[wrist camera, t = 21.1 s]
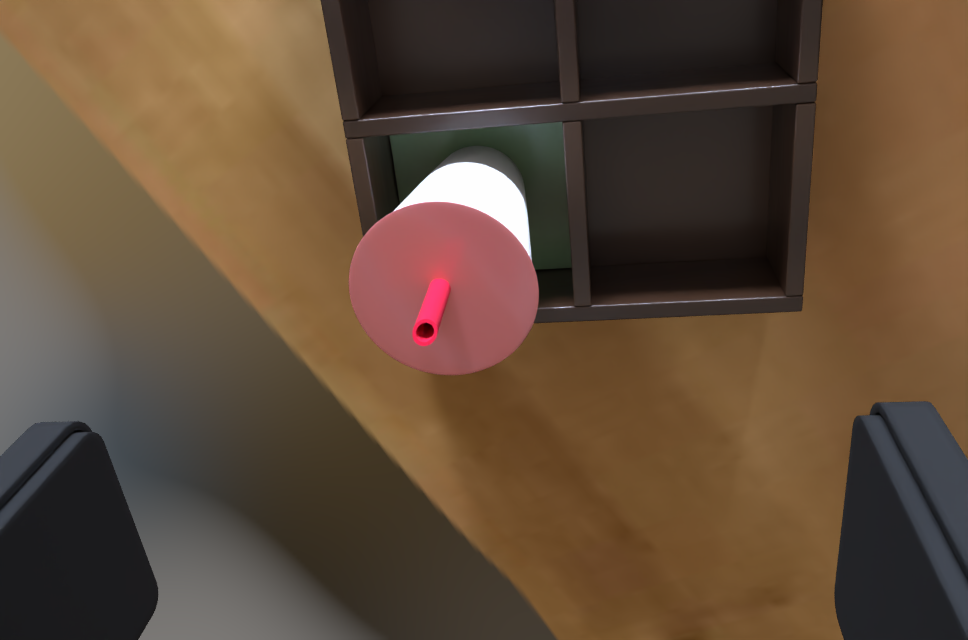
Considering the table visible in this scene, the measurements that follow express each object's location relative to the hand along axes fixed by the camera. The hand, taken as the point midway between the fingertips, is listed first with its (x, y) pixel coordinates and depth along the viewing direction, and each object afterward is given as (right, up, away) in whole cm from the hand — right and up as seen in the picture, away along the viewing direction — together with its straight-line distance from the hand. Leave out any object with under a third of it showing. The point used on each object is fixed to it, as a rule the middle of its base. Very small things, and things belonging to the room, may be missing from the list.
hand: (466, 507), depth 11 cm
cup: (0, +7, +21) cm, 23 cm away
